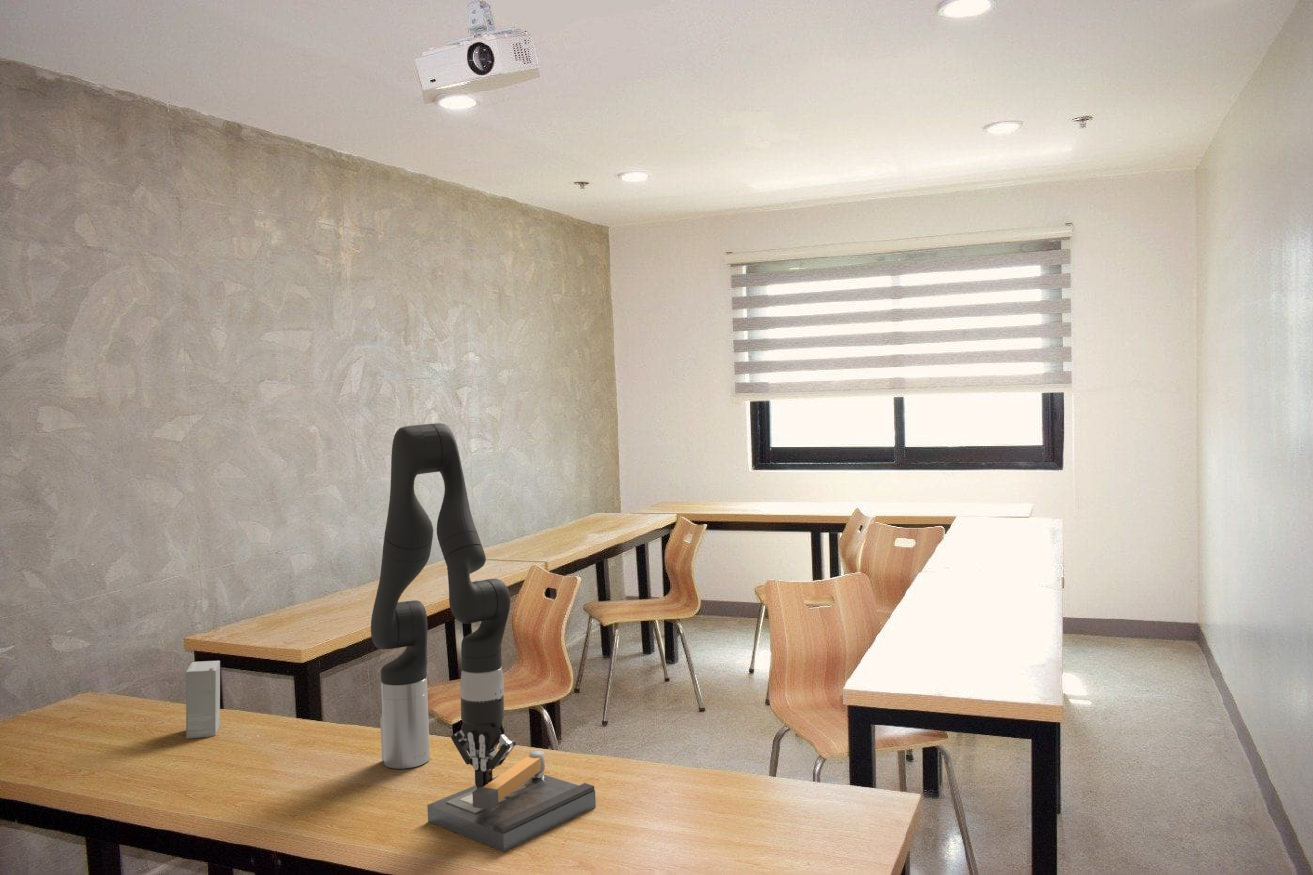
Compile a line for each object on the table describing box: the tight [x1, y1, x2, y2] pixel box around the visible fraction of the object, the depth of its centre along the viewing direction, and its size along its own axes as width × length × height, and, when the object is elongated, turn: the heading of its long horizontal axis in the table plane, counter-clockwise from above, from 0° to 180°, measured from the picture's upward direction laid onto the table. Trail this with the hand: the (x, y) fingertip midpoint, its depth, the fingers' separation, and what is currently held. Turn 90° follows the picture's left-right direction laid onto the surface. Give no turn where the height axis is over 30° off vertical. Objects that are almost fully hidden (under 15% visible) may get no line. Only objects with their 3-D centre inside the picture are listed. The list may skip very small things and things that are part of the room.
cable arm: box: [472, 750, 546, 810], centre depth 175 cm, size 4×21×3 cm, turn 158°
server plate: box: [426, 769, 597, 853], centre depth 173 cm, size 20×22×4 cm
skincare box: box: [185, 660, 221, 740], centre depth 224 cm, size 8×7×16 cm
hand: (484, 789), depth 172 cm, fingers closed
